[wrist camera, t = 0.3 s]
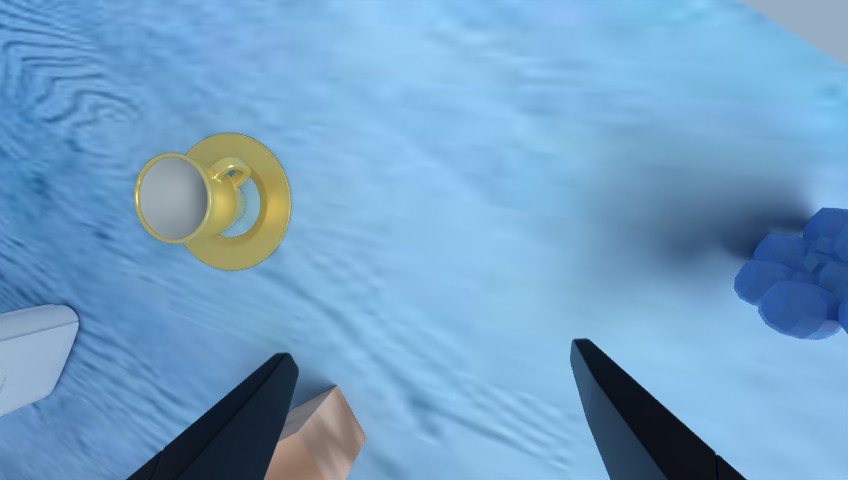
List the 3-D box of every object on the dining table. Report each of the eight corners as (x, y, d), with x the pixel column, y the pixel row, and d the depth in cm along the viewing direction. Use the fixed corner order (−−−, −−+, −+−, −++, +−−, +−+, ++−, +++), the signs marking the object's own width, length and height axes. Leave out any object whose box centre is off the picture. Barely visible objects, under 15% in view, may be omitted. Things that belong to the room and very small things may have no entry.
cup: (220, 295, 28) (159, 311, 22) (152, 187, 28) (77, 178, 23) (319, 219, 26) (278, 218, 20) (244, 106, 26) (185, 75, 21)
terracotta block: (366, 436, 26) (334, 500, 20) (319, 459, 26) (275, 527, 20) (337, 384, 26) (297, 432, 20) (292, 409, 27) (240, 461, 21)
